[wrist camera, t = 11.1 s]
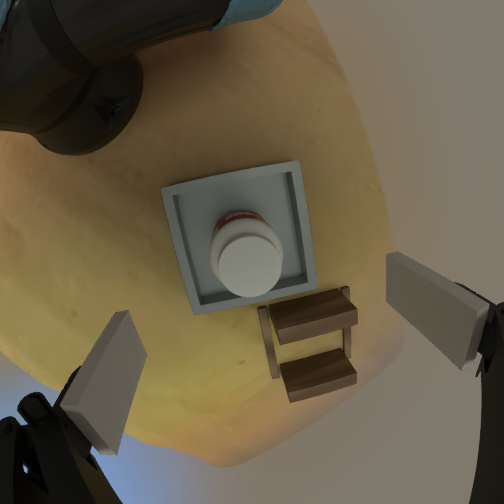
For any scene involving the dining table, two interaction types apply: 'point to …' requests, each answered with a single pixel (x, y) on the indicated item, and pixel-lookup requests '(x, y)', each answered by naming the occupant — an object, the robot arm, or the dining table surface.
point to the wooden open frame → (306, 326)
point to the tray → (231, 198)
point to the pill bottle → (246, 253)
